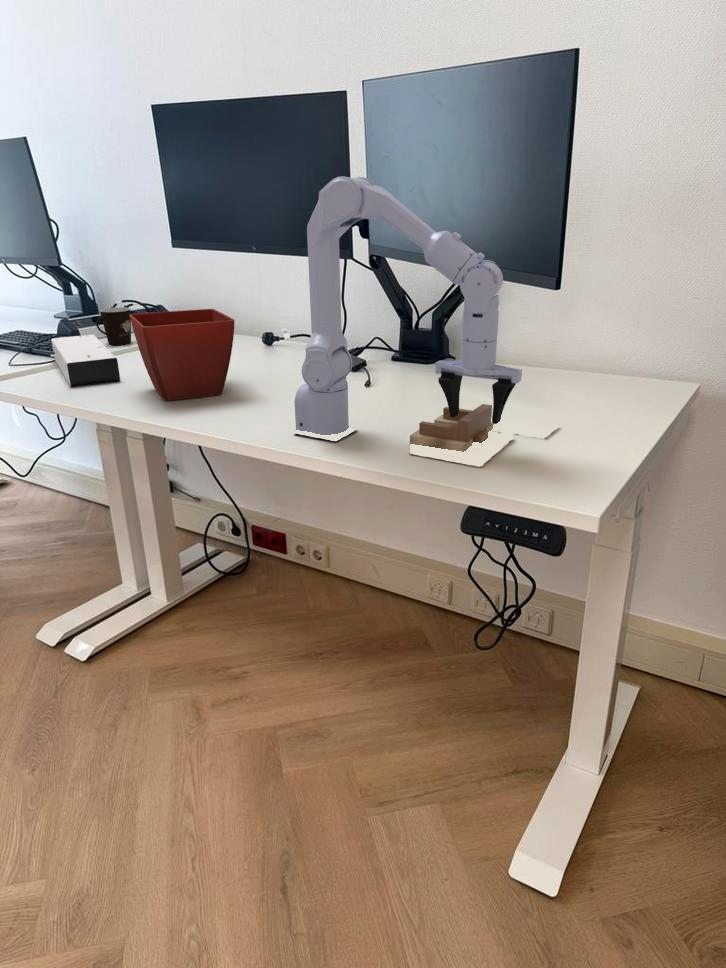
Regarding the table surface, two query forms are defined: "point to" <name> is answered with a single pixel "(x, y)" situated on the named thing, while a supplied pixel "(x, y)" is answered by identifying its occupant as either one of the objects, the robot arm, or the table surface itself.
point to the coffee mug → (116, 325)
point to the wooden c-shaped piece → (460, 424)
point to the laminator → (85, 360)
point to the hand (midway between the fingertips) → (474, 418)
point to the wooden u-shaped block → (448, 443)
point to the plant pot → (185, 351)
